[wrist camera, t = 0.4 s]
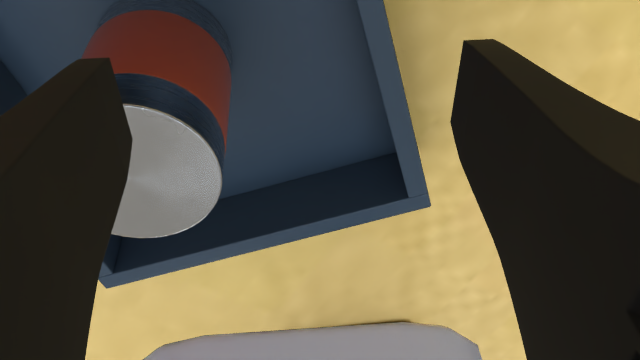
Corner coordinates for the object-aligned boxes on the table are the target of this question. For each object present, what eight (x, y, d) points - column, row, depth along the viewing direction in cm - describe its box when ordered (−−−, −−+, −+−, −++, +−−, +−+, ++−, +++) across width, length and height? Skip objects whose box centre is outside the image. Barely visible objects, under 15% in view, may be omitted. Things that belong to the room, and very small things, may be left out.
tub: (414, 151, 26) (431, 207, 24) (121, 230, 28) (106, 289, 26) (316, -260, 16) (325, -246, 14) (-129, -94, 18) (-196, -52, 16)
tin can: (243, 104, 23) (236, 230, 18) (118, 116, 23) (75, 247, 18) (219, -18, 20) (202, 94, 15) (73, -3, 20) (5, 114, 15)
